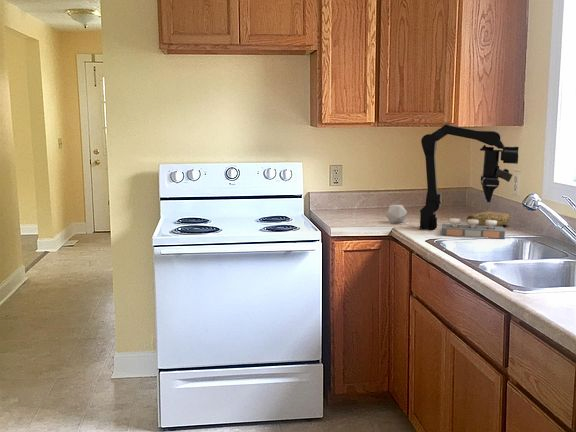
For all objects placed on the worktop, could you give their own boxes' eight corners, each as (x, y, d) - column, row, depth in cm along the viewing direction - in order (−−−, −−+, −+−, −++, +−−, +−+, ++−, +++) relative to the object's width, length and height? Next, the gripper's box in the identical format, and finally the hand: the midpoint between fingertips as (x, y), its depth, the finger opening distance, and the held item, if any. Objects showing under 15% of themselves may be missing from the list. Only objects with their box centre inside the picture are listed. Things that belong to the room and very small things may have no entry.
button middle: (466, 230, 263) (467, 220, 263) (466, 228, 268) (467, 218, 267) (478, 231, 262) (478, 221, 262) (478, 229, 267) (478, 219, 266)
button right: (485, 231, 262) (485, 221, 261) (484, 229, 266) (485, 219, 265) (496, 232, 261) (497, 222, 260) (496, 230, 265) (496, 220, 264)
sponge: (476, 232, 278) (520, 222, 280) (472, 214, 278) (516, 204, 280) (464, 233, 291) (507, 223, 293) (461, 215, 291) (503, 205, 293)
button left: (448, 229, 265) (449, 219, 265) (449, 227, 269) (449, 218, 269) (460, 230, 264) (460, 220, 264) (460, 228, 268) (460, 218, 268)
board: (441, 235, 263) (441, 228, 262) (441, 230, 274) (442, 223, 273) (504, 239, 257) (505, 231, 257) (502, 234, 268) (503, 226, 267)
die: (404, 222, 297) (392, 204, 298) (414, 215, 289) (401, 196, 290) (391, 231, 293) (378, 212, 294) (401, 224, 285) (388, 205, 286)
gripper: (514, 165, 255) (510, 205, 258) (509, 161, 273) (506, 199, 276) (484, 163, 258) (481, 203, 260) (481, 160, 276) (478, 197, 278)
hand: (487, 200), depth 269 cm, fingers open, 9 cm apart
